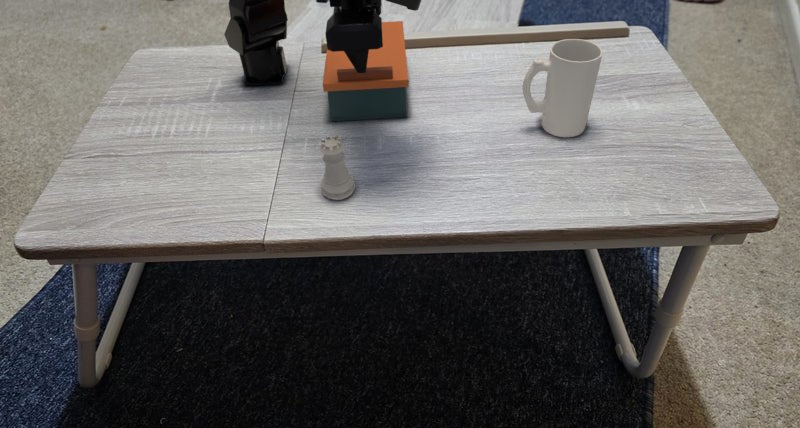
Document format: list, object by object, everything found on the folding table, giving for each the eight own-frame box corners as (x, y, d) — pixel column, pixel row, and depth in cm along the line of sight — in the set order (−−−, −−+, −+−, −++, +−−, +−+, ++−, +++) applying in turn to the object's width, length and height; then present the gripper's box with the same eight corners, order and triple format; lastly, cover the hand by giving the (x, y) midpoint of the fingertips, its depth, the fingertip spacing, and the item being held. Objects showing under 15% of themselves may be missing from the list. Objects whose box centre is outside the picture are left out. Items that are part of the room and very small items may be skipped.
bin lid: (408, 86, 84) (407, 70, 82) (323, 91, 84) (321, 75, 82) (402, 27, 99) (402, 12, 97) (330, 31, 99) (328, 16, 97)
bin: (406, 117, 88) (405, 84, 85) (331, 121, 88) (326, 89, 85) (402, 59, 102) (400, 29, 98) (336, 63, 102) (332, 33, 98)
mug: (579, 111, 87) (594, 37, 79) (592, 137, 82) (609, 60, 74) (513, 116, 87) (521, 41, 79) (522, 141, 82) (531, 65, 74)
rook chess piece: (352, 177, 78) (346, 127, 73) (358, 198, 75) (352, 147, 69) (319, 183, 77) (310, 133, 72) (324, 204, 74) (315, 154, 69)
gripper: (427, -31, 58) (428, 104, 69) (416, -85, 72) (419, 34, 82) (316, -25, 58) (335, 109, 69) (327, -80, 72) (341, 38, 82)
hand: (361, 69), depth 75 cm, fingers closed
